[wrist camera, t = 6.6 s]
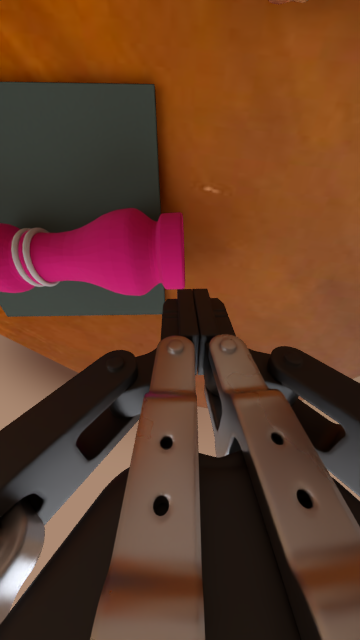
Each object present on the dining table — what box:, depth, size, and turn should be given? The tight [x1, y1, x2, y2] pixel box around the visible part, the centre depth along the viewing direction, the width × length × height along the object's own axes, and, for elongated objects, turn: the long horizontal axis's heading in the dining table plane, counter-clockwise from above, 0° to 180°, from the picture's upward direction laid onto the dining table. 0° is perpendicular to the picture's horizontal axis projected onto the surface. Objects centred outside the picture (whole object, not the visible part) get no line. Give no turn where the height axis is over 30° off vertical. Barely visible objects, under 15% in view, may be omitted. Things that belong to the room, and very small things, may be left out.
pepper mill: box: [0, 208, 185, 296], centre depth 18 cm, size 7×7×20 cm
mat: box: [0, 82, 165, 317], centre depth 20 cm, size 20×20×1 cm
